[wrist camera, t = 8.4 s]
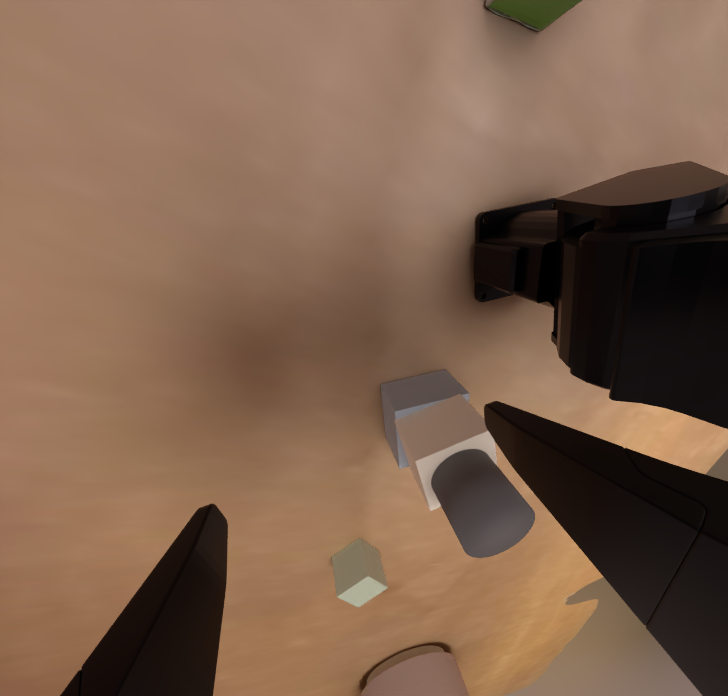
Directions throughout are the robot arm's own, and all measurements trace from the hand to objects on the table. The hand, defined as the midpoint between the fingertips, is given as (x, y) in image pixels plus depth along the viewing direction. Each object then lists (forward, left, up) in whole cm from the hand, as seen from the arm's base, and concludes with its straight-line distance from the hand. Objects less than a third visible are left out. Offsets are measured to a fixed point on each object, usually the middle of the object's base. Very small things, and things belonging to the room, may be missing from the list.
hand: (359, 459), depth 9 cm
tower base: (-7, +10, -13) cm, 18 cm away
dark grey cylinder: (-7, +10, -5) cm, 13 cm away
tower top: (-7, +10, -9) cm, 15 cm away
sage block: (+2, +29, -13) cm, 32 cm away
